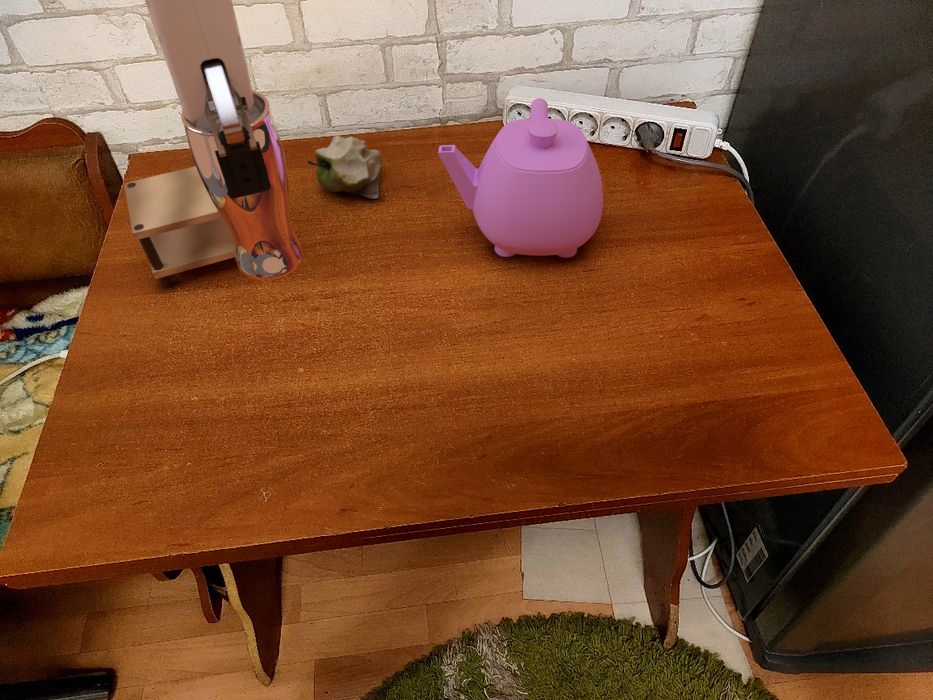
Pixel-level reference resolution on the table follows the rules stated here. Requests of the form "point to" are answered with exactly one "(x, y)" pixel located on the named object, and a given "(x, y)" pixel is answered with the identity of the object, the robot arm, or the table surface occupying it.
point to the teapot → (532, 186)
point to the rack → (177, 223)
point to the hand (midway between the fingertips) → (241, 164)
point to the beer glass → (251, 196)
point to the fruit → (349, 167)
